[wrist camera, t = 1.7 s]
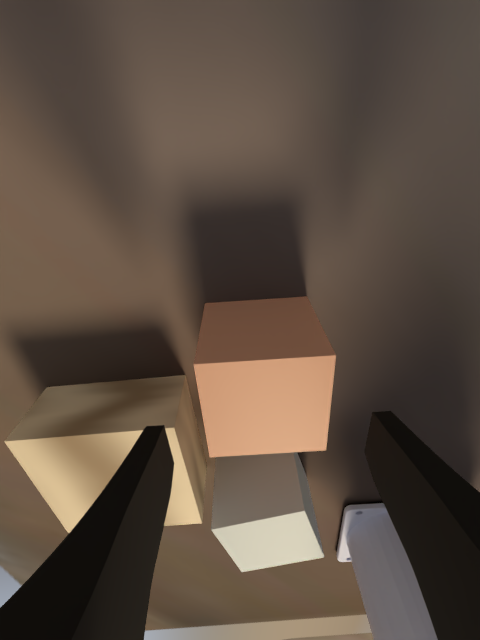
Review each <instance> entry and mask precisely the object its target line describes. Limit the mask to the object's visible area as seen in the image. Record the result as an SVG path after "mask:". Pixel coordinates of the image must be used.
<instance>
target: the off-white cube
mask: <svg viewBox="0 0 480 640" xmlns="http://www.w3.org/2000/svg"><path fill="white" fill-rule="evenodd" d="M211 530H212V532H213V533H214V534H215V536H216V537H217V538H218V540H219V541H220V543H221V544H222V545H223V547H224V548H225V549H226V551H227V552H228V554H229V555H230V556H231V558H232V559H233V560H234V562H235V563H236V565H237V566H238V567H239V569H240V570H241V571H242V572H245V571H251V570H256V569H262V568H267V567H273V566H279V565H284V564H290V563H295V562H301V561H307V560H312V559H318V558H323V557H324V554H323V549H322V544H321V540H320V535H319V531H318V526H317V521H316V517H315V512H314V508H313V503H312V499H311V494H310V489H309V485H308V480H307V476H306V474H305V471H304V468H303V466H302V463H301V460H300V458H299V455H298V453H297V452H291V453H274V454H258V455H241V456H224V457H216V461H215V477H214V493H213V509H212V525H211Z"/></svg>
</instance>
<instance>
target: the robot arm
mask: <svg viewBox="0 0 480 640" xmlns="http://www.w3.org/2000/svg"><path fill="white" fill-rule="evenodd" d="M365 455H366V458H367V461H368V464H369V467H370V471H371V474H372V477H373V480H374V482H375V485H376V487H377V489H378V492H379V494H380V496H381V498H382V501H383V503H375V504H357V505H348V506H346V507H345V509H344V514H343V520H342V525H341V531H340V537H339V543H338V548H337V554H336V556H337V560H338V561H340V562H351V561H352V564H353V568H354V572H355V575H356V579H357V582H358V586H359V589H360V593H361V596H362V600H363V603H364V607H365V610H366V614H367V617H368V621H369V624H370V628H371V631H372V635H373V639H374V640H480V492H478V491H477V490H476V489H475V488H474V487H472V486H471V485H470V484H469V483H468V482H467V481H465V480H464V479H463V478H462V477H461V476H460V475H458V474H457V473H456V472H455V471H454V470H453V469H452V468H451V467H449V466H448V465H447V464H446V463H445V462H444V461H443V460H442V459H441V458H439V457H438V456H437V455H436V454H435V453H434V452H433V451H432V450H431V449H430V448H429V447H428V446H426V445H425V444H424V443H423V442H422V441H421V440H420V439H419V438H418V437H417V436H416V435H415V434H414V433H413V432H412V431H411V430H410V429H409V428H408V427H407V426H406V425H405V424H403V423H402V422H401V421H400V420H399V419H398V418H397V417H396V416H395V415H394V414H393V413H392V412H391V411H385V412H373V413H372V418H371V422H370V427H369V432H368V437H367V442H366V447H365ZM173 470H174V460H173V456H172V453H171V449H170V445H169V441H168V438H167V434H166V430H165V426H164V425H157V426H146V427H145V428H144V430H143V431H142V433H141V435H140V436H139V438H138V439H137V441H136V443H135V444H134V446H133V447H132V449H131V450H130V452H129V453H128V455H127V456H126V458H125V459H124V461H123V462H122V464H121V465H120V467H119V468H118V470H117V471H116V473H115V474H114V475H113V477H112V478H111V480H110V481H109V483H108V484H107V485H106V487H105V488H104V489H103V491H102V492H101V494H100V495H99V496H98V497H97V499H96V500H95V501H94V503H93V504H92V505H91V507H90V508H89V509H88V511H87V512H86V513H85V514H84V516H83V517H82V518H81V520H80V521H79V522H78V523H77V524H76V526H75V527H74V528H73V529H72V531H71V532H70V533H69V534H68V535H67V537H66V538H65V539H64V540H63V541H62V542H61V544H60V545H59V546H58V547H57V548H56V549H55V551H54V552H53V553H52V554H51V555H50V556H49V557H48V558H47V559H46V560H45V562H44V563H43V564H42V565H41V566H40V567H39V568H38V569H37V570H36V571H35V573H34V574H33V575H32V576H31V577H30V578H29V579H28V580H27V581H26V582H25V583H24V584H23V585H22V586H21V587H20V588H19V590H18V591H17V592H16V593H15V594H14V595H13V596H12V597H11V598H10V599H9V600H8V601H7V602H6V603H5V604H4V605H3V606H2V607H1V608H0V640H144V632H145V625H146V618H147V610H148V603H149V596H150V589H151V583H152V578H153V573H154V568H155V563H156V559H157V554H158V550H159V545H160V541H161V536H162V532H163V527H164V523H165V518H166V514H167V509H168V505H169V500H170V495H171V488H172V480H173Z"/></svg>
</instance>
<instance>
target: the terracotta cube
mask: <svg viewBox="0 0 480 640" xmlns="http://www.w3.org/2000/svg"><path fill="white" fill-rule="evenodd" d="M335 360H336V354H335V352H334V350H333V348H332V346H331V344H330V342H329V340H328V338H327V336H326V334H325V332H324V330H323V328H322V326H321V324H320V322H319V320H318V318H317V316H316V314H315V312H314V310H313V308H312V306H311V304H310V302H309V300H308V298H307V296H305V297H290V298H275V299H260V300H245V301H230V302H215V303H205V306H204V311H203V317H202V322H201V327H200V333H199V338H198V344H197V349H196V354H195V360H194V369H195V375H196V381H197V387H198V392H199V398H200V404H201V410H202V415H203V421H204V427H205V433H206V438H207V444H208V450H209V456H210V457H224V456H241V455H258V454H274V453H291V452H308V451H325V450H326V446H327V436H328V427H329V417H330V408H331V398H332V389H333V379H334V370H335Z"/></svg>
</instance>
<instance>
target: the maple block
mask: <svg viewBox="0 0 480 640" xmlns="http://www.w3.org/2000/svg"><path fill="white" fill-rule="evenodd" d="M157 425H164V426H165V430H166V434H167V438H168V441H169V445H170V449H171V453H172V456H173V460H174V470H173V480H172V488H171V495H170V500H169V505H168V509H167V514H166V518H165V523H164V526H170V525H184V524H198V523H202V517H203V505H204V494H205V482H206V471H207V464H206V460H205V455H204V451H203V447H202V443H201V438H200V434H199V430H198V426H197V421H196V417H195V413H194V409H193V404H192V400H191V396H190V392H189V387H188V383H187V379H186V375H179V376H168V377H156V378H145V379H134V380H122V381H111V382H100V383H88V384H77V385H66V386H54V387H47V388H46V389H45V390H44V391H43V393H42V394H41V395H40V397H39V398H38V399H37V400H36V402H35V403H34V404H33V406H32V407H31V408H30V409H29V411H28V412H27V413H26V414H25V416H24V417H23V418H22V420H21V421H20V422H19V423H18V425H17V426H16V427H15V429H14V430H13V431H12V432H11V434H10V435H9V436H8V437H7V439H6V440H5V441H4V442H5V443H6V445H7V446H8V447H9V449H10V450H11V452H12V453H13V455H14V456H15V457H16V459H17V460H18V462H19V463H20V465H21V466H22V467H23V469H24V470H25V472H26V473H27V475H28V476H29V477H30V479H31V480H32V482H33V483H34V485H35V486H36V488H37V489H38V490H39V492H40V493H41V495H42V496H43V498H44V499H45V500H46V502H47V503H48V505H49V506H50V508H51V509H52V510H53V512H54V513H55V515H56V516H57V518H58V519H59V520H60V522H61V523H62V525H63V526H64V528H65V529H66V530H67V532H68V533H70V532H71V531H72V529H73V528H74V527H75V526H76V524H77V523H78V522H79V521H80V520H81V518H82V517H83V516H84V514H85V513H86V512H87V511H88V509H89V508H90V507H91V505H92V504H93V503H94V501H95V500H96V499H97V497H98V496H99V495H100V494H101V492H102V491H103V489H104V488H105V487H106V485H107V484H108V483H109V481H110V480H111V478H112V477H113V475H114V474H115V473H116V471H117V470H118V468H119V467H120V465H121V464H122V462H123V461H124V459H125V458H126V456H127V455H128V453H129V452H130V450H131V449H132V447H133V446H134V444H135V443H136V441H137V439H138V438H139V436H140V435H141V433H142V431H143V430H144V428H145V427H146V426H157Z"/></svg>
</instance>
